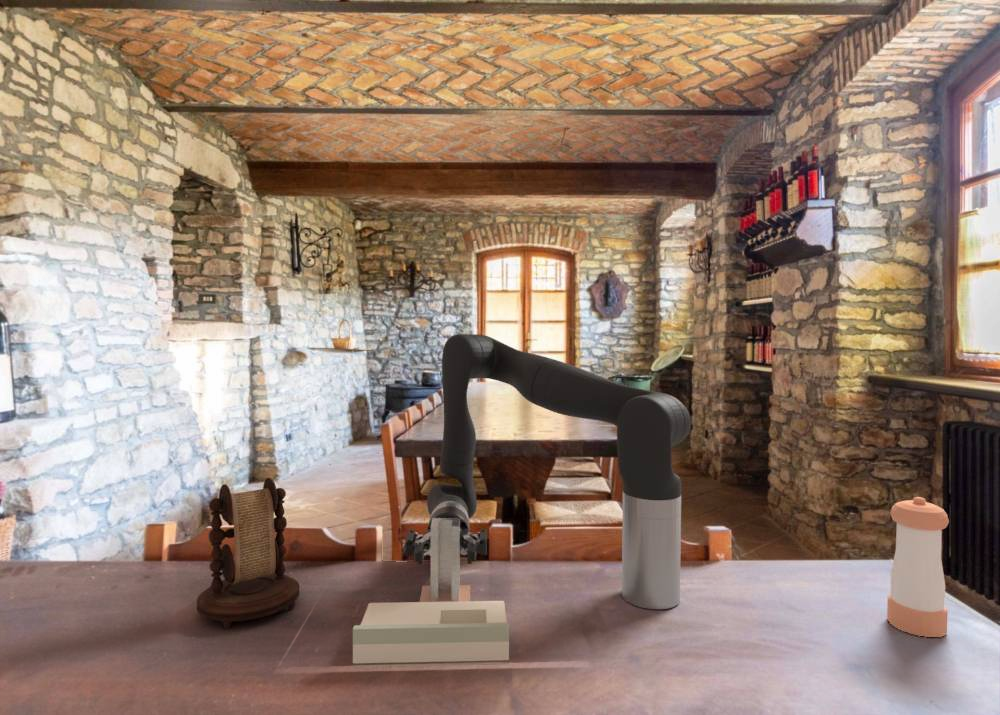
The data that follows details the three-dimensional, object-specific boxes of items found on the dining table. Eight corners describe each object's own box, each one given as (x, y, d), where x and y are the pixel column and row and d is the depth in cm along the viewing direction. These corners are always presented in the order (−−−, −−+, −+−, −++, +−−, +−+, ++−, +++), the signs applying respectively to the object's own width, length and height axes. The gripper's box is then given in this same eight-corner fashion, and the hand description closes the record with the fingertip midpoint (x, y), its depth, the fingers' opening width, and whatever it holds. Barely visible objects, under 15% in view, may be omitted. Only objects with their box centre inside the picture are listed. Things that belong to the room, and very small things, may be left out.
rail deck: (369, 622, 88) (369, 589, 88) (503, 620, 89) (504, 587, 89) (352, 667, 76) (352, 629, 76) (508, 664, 77) (509, 626, 77)
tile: (422, 589, 100) (422, 585, 100) (470, 588, 100) (470, 585, 100) (418, 611, 92) (418, 607, 92) (470, 610, 92) (470, 606, 92)
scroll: (213, 642, 82) (211, 499, 82) (185, 606, 93) (183, 479, 93) (315, 610, 92) (314, 482, 91) (279, 581, 103) (278, 466, 102)
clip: (432, 590, 98) (432, 518, 98) (459, 589, 98) (459, 517, 98) (430, 602, 94) (430, 526, 93) (459, 601, 94) (459, 526, 93)
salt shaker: (939, 620, 89) (943, 494, 89) (953, 642, 83) (956, 506, 82) (883, 611, 92) (886, 489, 92) (891, 631, 86) (894, 500, 85)
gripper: (410, 506, 110) (399, 535, 93) (487, 505, 110) (490, 534, 94) (410, 546, 110) (399, 582, 93) (487, 545, 110) (490, 581, 94)
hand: (444, 558), depth 94 cm, fingers open, 7 cm apart
